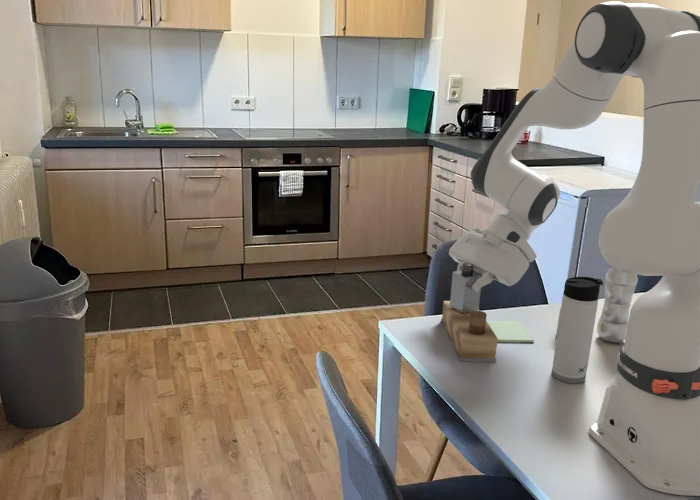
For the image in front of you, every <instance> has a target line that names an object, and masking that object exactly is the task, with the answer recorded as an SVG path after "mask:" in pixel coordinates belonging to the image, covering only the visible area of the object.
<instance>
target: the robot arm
mask: <svg viewBox="0 0 700 500" xmlns="http://www.w3.org/2000/svg"><path fill="white" fill-rule="evenodd" d="M577 25H578V26H577V28H576V32H575V36H574V39H573V40H572V43H570V45H569V46H568V48H567V50H566V52H565V53H564V55H563V56H562V59H561V60H560V62H559V63H558V66H557V68H556V69H555V72H554V74H553V76H552V78H551V79H550V80H549V82H548V83H547V84H546V85H545V86H543V87H540V88H537V87H536V88H533V89H532V90H530V91H529V92H528V93H526V94H525V96H523V97H522V99H521V100H520V101H519V102H518V104H517V105H516V107H514V109H513V110H512V111H511V113H510V115H509V116H508V118H507V119H506V121H504V123H503V125H502V127H500V129H499V131H498V132H497V134H496V135H495V137H494V138H493V139H492V141H491V143H490V144H489V146H488V147H487V148H486V150H485V151H483V153H482V155H481V156H480V157H479V158H478V159H477V160H476V162H475V164H473V167H472V169H471V171H470V179H471V180H470V181H471V183H472V186H473V189H474V191H476V192H477V193H480V194H482V195H483V196H485V197H487V198H489V199H491V200H493V201H494V202H495V203H498V204H499V205H500V206H502V207H503V209H502V210H501V211H499V212H498V213H497V214H496V215H495V216H494V217H493V218H492V220H491V221H490V222H489V223H488V224H487V226H486V227H485V228H484V229H481V228H478V227H477V228H475V229H474V228H473V229H470V230H468V232H467V231H466V233H464V234H463V235H461V237H459V238H458V239H457V240H456V242H454V243H453V245H452V246H451V247H450V248H449V251H448V255H449V256H450V257H451V259H453V261H455V262H456V263H458V264H457V268H456V271H462V266H463V264H464V263H470V264H473V265H474V269H473V271H474V272H476V273H478V274H481V275H482V277H481V278H480V279H478V280H477V281H475V280H473V281H472V283H471V284H470V285H469V287H470V288H471V290H473V291H475V292H478V291H479V290H480V289H481V290H482V288H483V287H486V285H489V284H491V283H492V282H493V281H494V280H495V281H497V282H499V283H501V284H503V285H505V286H508V287H512V286H513V285H515V284H517V283H518V282H519V281H520V280H521V279H522V277H523V276H524V275H525V273H526V272H527V271H528V269H529V267H530V263H533V262H534V261H535V260H536V258H537V257H538V255H537V254H536V252H535V250H534V249H533V248H532V246H531V244H530V243H529V242H528V241H529V239H530V238H531V235H532V234H533V232H534V231H535V230H536V229H538V228H539V227H540V226H541V225H542V224H544V223H545V222H546V221H547V220H548V218H549V217H550V216H551V215H552V213H554V211H555V209H556V208H557V205H558V200H559V198H560V195H561V190H560V188H559V185H558V184H557V183H556V182H555V181H554V180H553V179H552V178H550V177H549V176H547V175H545V174H541V173H538V172H537V171H535V170H534V169H532V168H530V167H529V166H527V165H526V164H523V163H522V162H521V161H519V160H517V159H516V158H515V157H514V156H513V154H512V151H513V149H515V147H516V146H517V144H518V142H519V141H520V140H521V138H522V137H523V135H524V134H525V133H526V131H527V130H528V128H529V127H533V126H535V127H536V126H537V127H546V128H553V129H557V130H577V129H581V128H585V127H587V126H589V125H591V124H593V123H595V122H596V121H597V120H598V119H599V117H600V116H601V115H602V113H603V112H604V111H605V109H606V108H607V106H608V104H609V102H610V101H611V99H612V97H613V96H614V93H615V91H616V90H617V87H618V86H619V83H620V82H621V80H622V79H623V77H624V76H629V77H632V78H635V79H636V78H637V79H638V78H640V79H641V81H642V84H643V91H644V92H643V131H642V153H641V161H640V167H639V171H638V173H637V176H636V177H635V181H634V183H633V185H632V187H631V188H630V191H628V193H627V194H626V196H625V197H624V198H623V200H622V201H620V203H618V205H616V206H615V207H614V208H613V209H611V210H609V212H608V213H607V215H606V216H605V217H604V219H603V221H602V222H601V225H600V227H599V228H600V229H599V233H598V246H599V251H600V252H601V255H602V257H603V258H604V260H605V262H606V263H607V264H608V265H609V266H610V268H611V267H612V268H613V269H615V270H618V271H623V272H627V273H632V274H637V276H644V277H650V276H651V277H652V276H653V277H656V276H657V277H658V276H662V277H661V279H660V280H659V281H658V282H657V284H655V285H654V286H653V287H652V288H650V289H649V290H648V291H646V292H644V293H643V294H640V296H639V297H637V298H636V300H634V302H633V303H632V305H631V306H630V307H631V308H630V310H629V319H628V327H627V333H626V338H625V340H624V345H622V346H621V347H620V349H619V350H620V351H619V353H618V357H617V365H616V367H617V371H618V372H617V374H616V375H615V377H614V379H612V381H611V382H610V383H609V384H608V385H607V387H606V388H605V389H606V390H605V393H604V396H603V400H602V403H601V406H600V411H599V415H598V417H597V421H596V422H593V424H591V425H590V426H589V430H588V433H589V435H590V436H591V437H592V438H593V439H594V440H595V441H596V442H597V443H598V444H600V445H601V446H602V447H603V448H604V449H605V450H606V451H607V452H608V453H609V454H610V455H611V456H612V457H613V458H614V459H615V460H617V461H618V462H619V463H620V464H621V465H622V466H623V467H624V468H625V469H626V470H627V471H628V472H629V473H631V475H632V476H634V477H635V478H636V479H637V480H638V481H639V482H640V483H641V484H642V485H643V486H645V487H646V488H648V489H650V490H654V491H657V492H661V493H666V494H670V495H679V496H686V497H687V496H688V497H689V496H691V497H700V201H696V196H697V195H696V194H697V191H698V188H699V186H700V16H699V15H697V14H694V13H692V12H690V11H684V10H683V11H681V10H680V11H679V10H676V9H672V8H667V7H663V6H658V5H657V4H651V3H637V2H635V3H633V2H631V3H630V2H627V3H624V2H622V1H607V2H601V3H598V4H596V5H594V6H592V7H591V8H589V9H588V10H587V11H586V12H585V14H584V15H583V16H582V18H581V20H580V21H579V23H578V24H577Z"/></svg>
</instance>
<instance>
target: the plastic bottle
mask: <svg viewBox="0 0 700 500" xmlns="http://www.w3.org/2000/svg"><path fill="white" fill-rule="evenodd" d="M638 282H639V279H638V274H632V273H627V272H623V271H618V270H615V269H613V268H612V267H611V266H610V268H609V269H608V270H607V271H606V274H605V292H604V293H605V294H604V300H603V306H602V309H601V314H600V316H599V317H600V318H598V322H597V325H596V333H597V335H598V337H599V339H601V340H603V341H605V342H608V343H613V344H614V343H616V344H618V343H620V344H621V343H622V342H625V338H626V333H627V327H628V322H629V316H630V309H631V308H630V307H631V303H632V299H633V296H634V292H635V289H636V287H637V285H638Z"/></svg>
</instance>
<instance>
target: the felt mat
mask: <svg viewBox="0 0 700 500" xmlns="http://www.w3.org/2000/svg"><path fill="white" fill-rule="evenodd" d="M486 321H487V323H488V324H489V326H490V327H491V329H492V330H493V332H494V334H495V335H496V337H497V338H498V339H497V343H520V342H529V343H530V342H535V339H534V338H533V337H532V335H531V334H530V333H529V331H528V330H527V329H526V327H525V326H524V325H523V323H521V321H508V320H507V321H505V320H504V321H500V320H498V321H497V320H495V321H493V320H492V321H491V320H486ZM529 343H528V344H529Z"/></svg>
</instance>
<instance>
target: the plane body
mask: <svg viewBox="0 0 700 500" xmlns="http://www.w3.org/2000/svg"><path fill="white" fill-rule="evenodd" d="M440 321H441V323H442V326H443V327H444V330H445V332H446V333H447V336H448V339H449V340H450V343H451V344H452V346H453V348H454V351H455V352H456V353H455V354H456V355H457V357H458V359H459V362H477V363H479V362H480V363H481V362H482V363H484V362H487V363H490V362H491V363H492V362H493V363H496V362H497V358H496V356H497V348H498V342H497V339H498V338H497V337H496V335H495V334H494V332H493V330H492V329H491V327H490V326H489V324H488V323H487V321H488V320H487V312H484V311H482V310H480V309H479V310H476V311H470V312H465V313H461V312H460V311H458V310H456V309H454V308H453V307H451V306H450V300H443V303H442V314H441V320H440Z"/></svg>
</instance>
